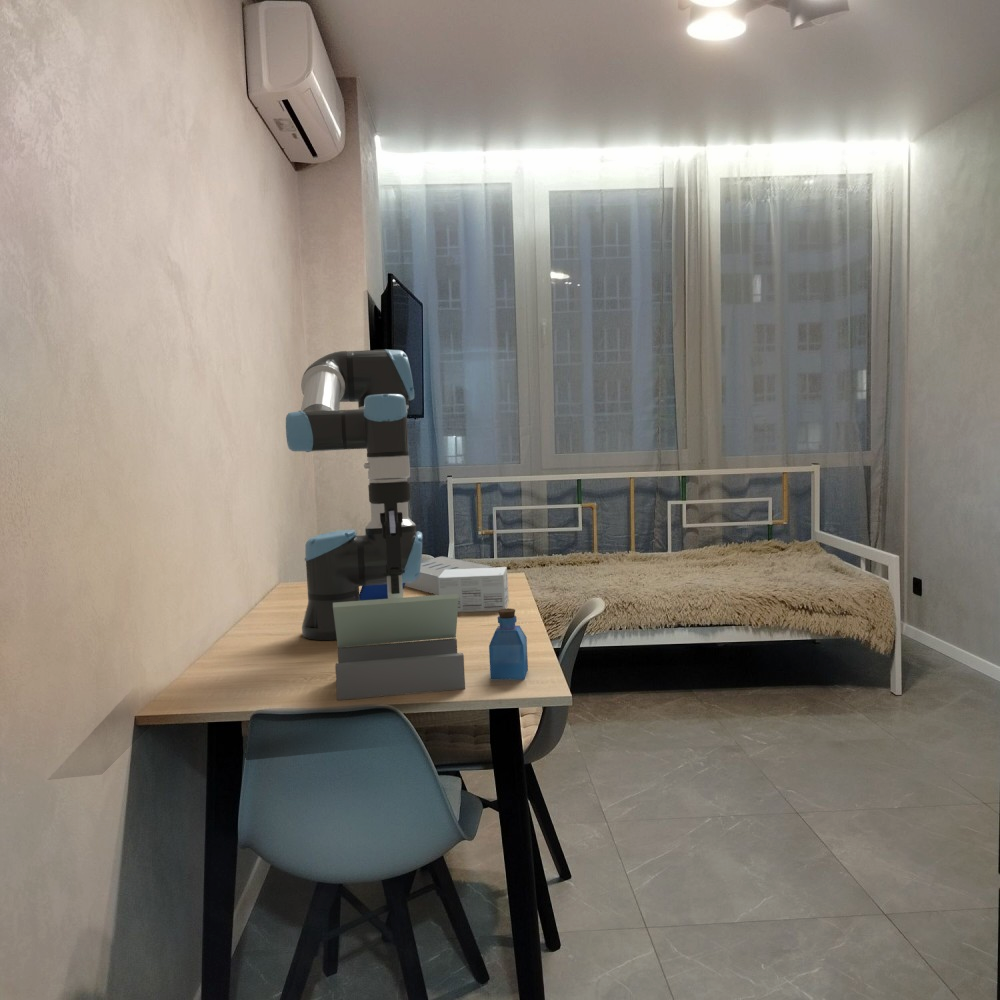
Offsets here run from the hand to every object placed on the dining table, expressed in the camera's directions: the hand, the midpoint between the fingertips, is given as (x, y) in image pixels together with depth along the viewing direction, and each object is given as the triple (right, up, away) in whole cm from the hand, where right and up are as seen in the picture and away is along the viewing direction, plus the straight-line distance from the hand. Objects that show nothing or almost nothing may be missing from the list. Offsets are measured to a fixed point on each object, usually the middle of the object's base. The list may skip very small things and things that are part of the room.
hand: (396, 610), depth 156 cm
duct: (+1, -13, -1) cm, 13 cm away
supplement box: (+12, -8, +66) cm, 68 cm away
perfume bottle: (+21, -12, +2) cm, 24 cm away
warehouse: (+3, -6, +95) cm, 95 cm away
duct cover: (0, -2, 0) cm, 2 cm away
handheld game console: (-15, -9, +70) cm, 72 cm away
